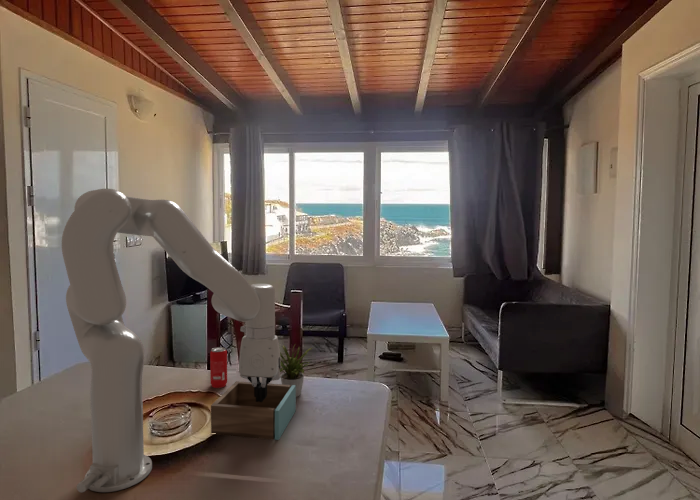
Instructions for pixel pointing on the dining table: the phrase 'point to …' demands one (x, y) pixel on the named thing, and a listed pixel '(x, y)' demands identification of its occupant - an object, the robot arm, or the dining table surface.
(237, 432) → the crate
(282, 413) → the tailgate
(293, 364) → the house plant
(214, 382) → the beverage can
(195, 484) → the dining table surface
